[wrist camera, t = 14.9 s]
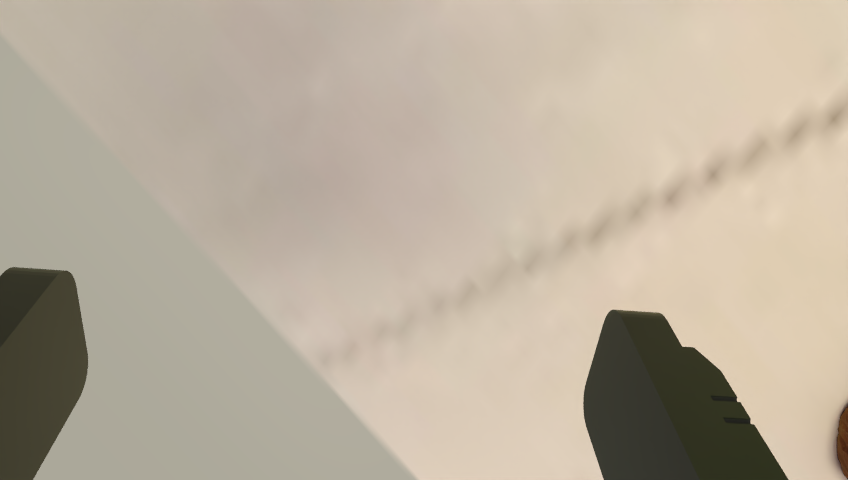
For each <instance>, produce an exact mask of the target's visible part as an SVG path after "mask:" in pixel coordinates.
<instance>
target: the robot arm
mask: <svg viewBox="0 0 848 480" xmlns="http://www.w3.org/2000/svg"><path fill="white" fill-rule="evenodd" d="M87 369H88V354H87V348H86V341H85V335H84V330H83V324H82V318H81V312H80V306H79V300H78V294H77V288H76V283H75V280H74V278H73V276H72V274H71V273H70V272H68V271H61V270H46V269H32V268H17V267H12V268H9V269H8V270H6V271H5V272H4V273H3V274H2V275H1V276H0V480H33V478H34V477H35V475H36V473H37V471H38V470H39V468H40V466H41V464H42V463H43V461H44V459H45V457H46V455H47V454H48V452H49V450H50V448H51V447H52V445H53V443H54V441H55V440H56V438H57V436H58V434H59V433H60V431H61V429H62V428H63V426H64V424H65V422H66V421H67V419H68V417H69V415H70V413H71V412H72V410H73V408H74V406H75V405H76V403H77V401H78V399H79V397H80V396H81V393H82V390H83V388H84V385H85V381H86V376H87ZM583 404H584V418H585V423H586V427H587V430H588V433H589V436H590V439H591V442H592V445H593V448H594V451H595V454H596V457H597V460H598V463H599V466H600V469H601V472H602V475H603V478H604V480H788V478H787V477H786V475H785V473H784V472H783V470H782V469H781V467H780V465H779V464H778V462H777V461H776V459H775V457H774V456H773V454H772V452H771V451H770V449H769V448H768V446H767V444H766V443H765V441H764V440H763V438H762V436H761V435H760V433H759V432H758V430H757V428H756V427H755V425H753V424H751V423H750V417H749V415H748V414H747V412H746V411H745V409H744V407H743V406H742V404H741V403H740V402H737V396H736V395H735V393H734V391H733V390H732V388H731V387H730V385H729V383H728V382H727V380H726V379H725V377H724V375H723V374H722V372H721V371H720V370H719V369H718V368H717V367H716V366H715V365H713V364H712V363H711V362H710V361H709V360H708V359H706V358H705V357H704V356H703V355H702V354H701V353H699V352H698V351H697V350H696V349H695V348H693V347H682V346H681V344H680V342H679V340H678V339H677V337H676V335H675V333H674V332H673V330H672V328H671V327H670V325H669V323H668V321H667V320H666V318H665V317H664V316H663V315H662V314H661V313H653V312H638V311H623V310H611V311H610V312H609V313H608V314H607V316H606V318H605V321H604V324H603V327H602V330H601V334H600V337H599V341H598V344H597V348H596V351H595V354H594V358H593V361H592V365H591V368H590V371H589V375H588V378H587V382H586V385H585V390H584V402H583Z"/></svg>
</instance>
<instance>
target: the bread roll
mask: <svg viewBox="0 0 848 480" xmlns="http://www.w3.org/2000/svg"><path fill="white" fill-rule="evenodd" d="M838 432H839V434H838V437H837V444H838V446H837V453H838V459H839V461H840V463H841V468H842V471H843V473H844V475H845V476H846V478H847V479H848V406H847V408H846V409H845V411H844V412H843V414H842V415H841V417H840V421H839V428H838Z"/></svg>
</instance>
